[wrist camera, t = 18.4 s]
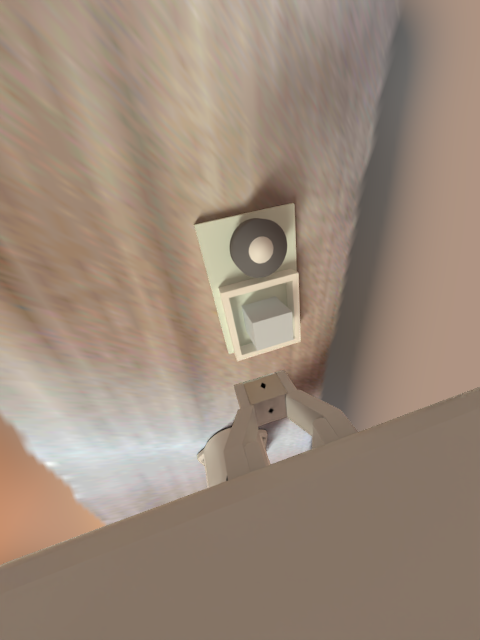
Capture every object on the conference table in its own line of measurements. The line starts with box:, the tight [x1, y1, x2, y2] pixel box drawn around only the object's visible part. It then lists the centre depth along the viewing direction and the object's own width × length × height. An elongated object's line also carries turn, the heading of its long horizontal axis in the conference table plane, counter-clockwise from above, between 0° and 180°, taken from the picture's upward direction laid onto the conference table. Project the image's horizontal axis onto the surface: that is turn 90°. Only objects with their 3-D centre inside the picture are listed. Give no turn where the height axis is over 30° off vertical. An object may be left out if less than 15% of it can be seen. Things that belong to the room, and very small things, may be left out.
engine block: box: [242, 296, 294, 351], centre depth 33 cm, size 5×6×6 cm
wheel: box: [229, 218, 287, 278], centre depth 26 cm, size 7×7×3 cm
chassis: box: [194, 203, 301, 361], centre depth 32 cm, size 22×14×4 cm, turn 10°
